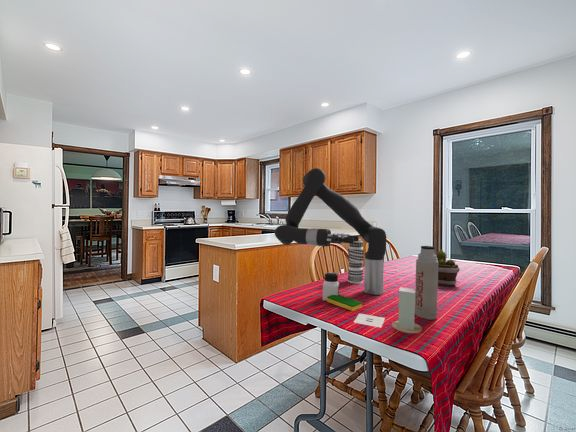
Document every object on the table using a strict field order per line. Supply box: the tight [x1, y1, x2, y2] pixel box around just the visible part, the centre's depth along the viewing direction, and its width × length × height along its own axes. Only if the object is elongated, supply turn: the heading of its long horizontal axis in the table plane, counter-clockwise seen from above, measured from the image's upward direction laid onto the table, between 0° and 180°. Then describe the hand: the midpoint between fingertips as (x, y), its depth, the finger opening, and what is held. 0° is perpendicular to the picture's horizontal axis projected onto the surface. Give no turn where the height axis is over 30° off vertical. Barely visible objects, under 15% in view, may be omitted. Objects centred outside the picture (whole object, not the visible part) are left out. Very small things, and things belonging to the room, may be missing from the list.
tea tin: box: [397, 286, 416, 330], centre depth 102 cm, size 5×5×13 cm
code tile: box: [353, 312, 386, 328], centre depth 108 cm, size 10×10×1 cm
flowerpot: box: [435, 249, 460, 287], centre depth 161 cm, size 14×15×20 cm
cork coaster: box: [391, 320, 423, 334], centre depth 102 cm, size 10×10×1 cm
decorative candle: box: [347, 238, 365, 285], centre depth 164 cm, size 9×9×25 cm
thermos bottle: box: [415, 245, 439, 320], centre depth 113 cm, size 8×8×28 cm
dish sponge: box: [326, 294, 363, 312], centre depth 125 cm, size 7×14×2 cm, turn 43°
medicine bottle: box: [322, 272, 340, 302], centre depth 133 cm, size 7×7×12 cm
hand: (356, 239), depth 115 cm, fingers open, 8 cm apart
